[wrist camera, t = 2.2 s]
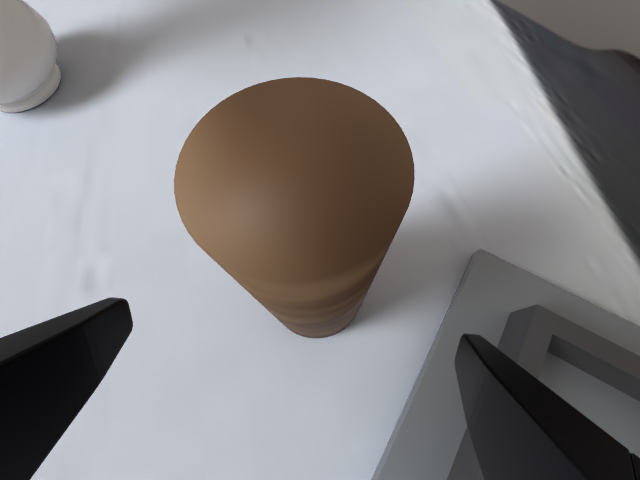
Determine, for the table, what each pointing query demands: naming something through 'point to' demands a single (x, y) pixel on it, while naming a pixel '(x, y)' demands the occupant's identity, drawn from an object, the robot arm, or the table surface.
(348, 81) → the table surface
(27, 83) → the flower vase
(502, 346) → the collar
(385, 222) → the peg
